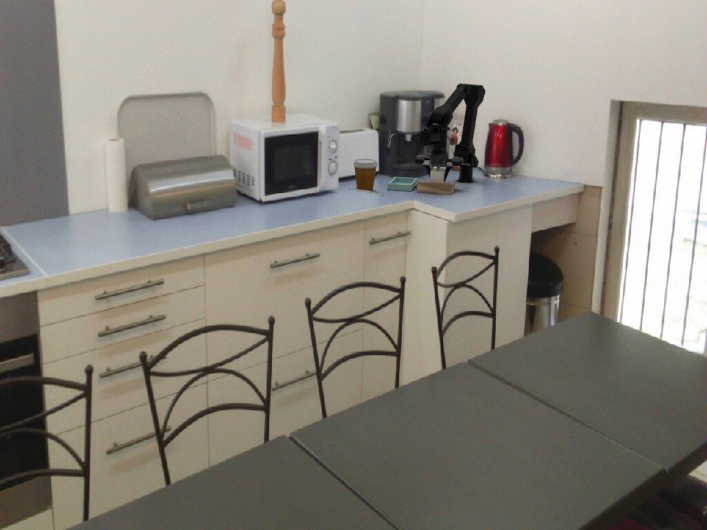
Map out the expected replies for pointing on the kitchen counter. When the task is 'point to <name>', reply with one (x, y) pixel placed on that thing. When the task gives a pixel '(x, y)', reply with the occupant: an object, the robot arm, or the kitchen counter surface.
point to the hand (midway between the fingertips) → (437, 181)
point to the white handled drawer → (437, 174)
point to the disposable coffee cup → (365, 173)
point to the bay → (435, 187)
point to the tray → (402, 184)
